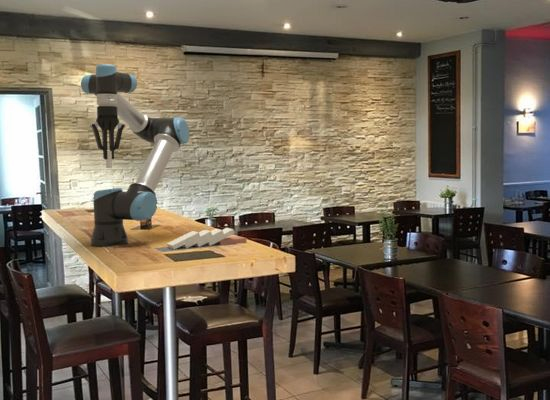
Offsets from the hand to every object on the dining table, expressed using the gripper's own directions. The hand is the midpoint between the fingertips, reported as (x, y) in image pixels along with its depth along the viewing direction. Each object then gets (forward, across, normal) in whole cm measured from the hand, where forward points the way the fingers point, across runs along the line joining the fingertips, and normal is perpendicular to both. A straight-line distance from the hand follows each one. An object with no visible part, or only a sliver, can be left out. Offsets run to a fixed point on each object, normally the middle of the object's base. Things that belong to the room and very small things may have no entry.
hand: (109, 167), depth 236 cm
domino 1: (+31, +20, -10) cm, 38 cm away
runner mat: (+32, +31, -10) cm, 46 cm away
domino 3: (+31, +31, -10) cm, 45 cm away
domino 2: (+31, +25, -10) cm, 41 cm away
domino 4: (+31, +36, -10) cm, 48 cm away
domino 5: (+31, +41, -10) cm, 52 cm away
